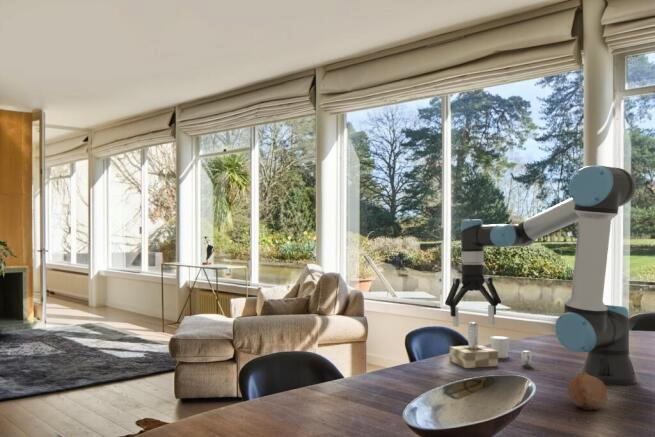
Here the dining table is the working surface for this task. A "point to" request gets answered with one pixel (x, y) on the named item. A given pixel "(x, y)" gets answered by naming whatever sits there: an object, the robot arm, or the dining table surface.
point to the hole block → (473, 356)
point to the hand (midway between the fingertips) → (473, 325)
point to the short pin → (526, 358)
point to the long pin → (473, 335)
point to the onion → (587, 391)
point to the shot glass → (500, 345)
